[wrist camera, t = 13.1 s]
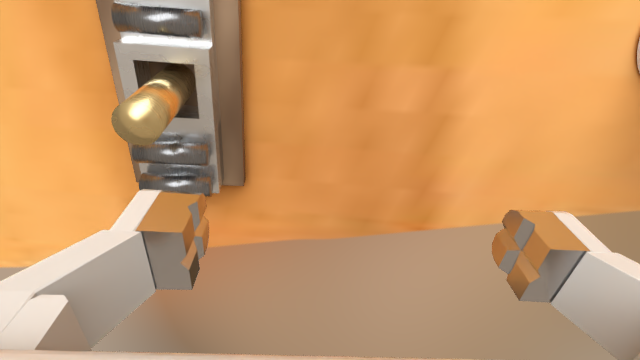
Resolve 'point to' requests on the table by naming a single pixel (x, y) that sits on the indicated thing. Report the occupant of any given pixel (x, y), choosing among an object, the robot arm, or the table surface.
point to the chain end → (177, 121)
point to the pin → (154, 105)
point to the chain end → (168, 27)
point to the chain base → (228, 84)
